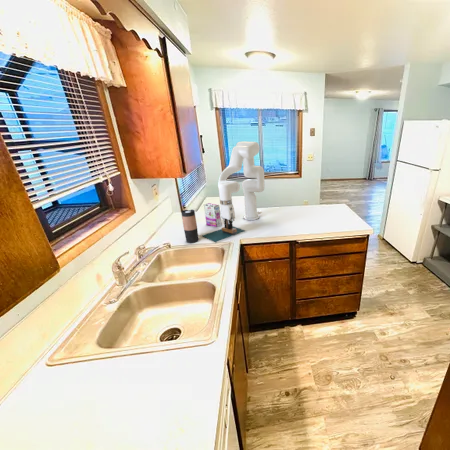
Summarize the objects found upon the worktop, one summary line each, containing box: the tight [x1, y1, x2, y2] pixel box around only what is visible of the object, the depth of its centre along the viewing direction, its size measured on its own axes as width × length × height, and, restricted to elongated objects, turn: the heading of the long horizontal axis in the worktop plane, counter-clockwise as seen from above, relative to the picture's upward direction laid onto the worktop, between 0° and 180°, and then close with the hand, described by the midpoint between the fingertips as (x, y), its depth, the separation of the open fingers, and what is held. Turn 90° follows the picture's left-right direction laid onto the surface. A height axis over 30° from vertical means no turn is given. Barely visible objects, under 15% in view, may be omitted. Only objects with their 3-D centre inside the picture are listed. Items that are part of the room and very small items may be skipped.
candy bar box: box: [203, 202, 222, 228], centre depth 177 cm, size 11×5×16 cm, turn 62°
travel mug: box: [180, 209, 199, 244], centre depth 150 cm, size 8×8×20 cm
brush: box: [221, 219, 238, 236], centre depth 162 cm, size 4×10×10 cm, turn 59°
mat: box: [201, 225, 246, 243], centre depth 164 cm, size 24×16×1 cm, turn 142°
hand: (228, 227), depth 162 cm, fingers closed on brush, 3 cm apart
